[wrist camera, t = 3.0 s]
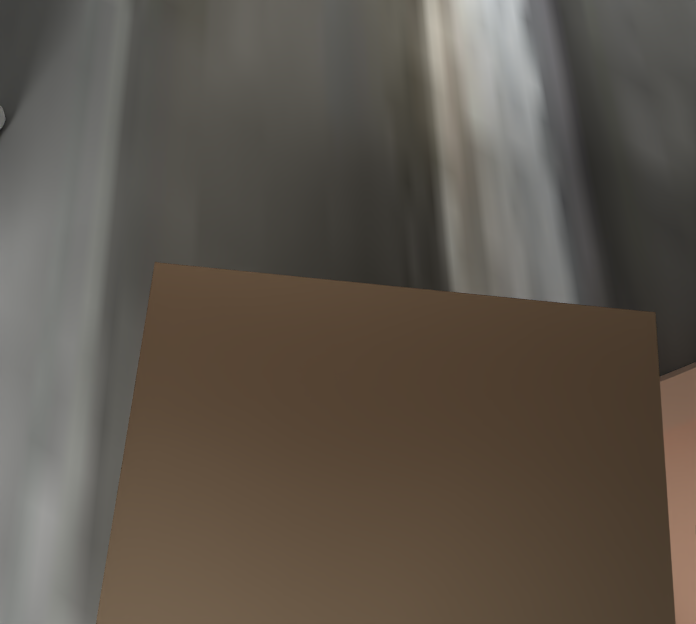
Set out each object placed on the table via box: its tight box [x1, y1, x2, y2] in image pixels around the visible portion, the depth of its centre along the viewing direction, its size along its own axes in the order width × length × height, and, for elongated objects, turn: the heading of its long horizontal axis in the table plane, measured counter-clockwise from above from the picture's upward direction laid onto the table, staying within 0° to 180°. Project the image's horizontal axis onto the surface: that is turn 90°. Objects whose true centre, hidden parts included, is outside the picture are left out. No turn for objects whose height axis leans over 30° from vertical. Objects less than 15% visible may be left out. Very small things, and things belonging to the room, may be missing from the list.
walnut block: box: [96, 262, 676, 624], centre depth 10 cm, size 4×4×10 cm
